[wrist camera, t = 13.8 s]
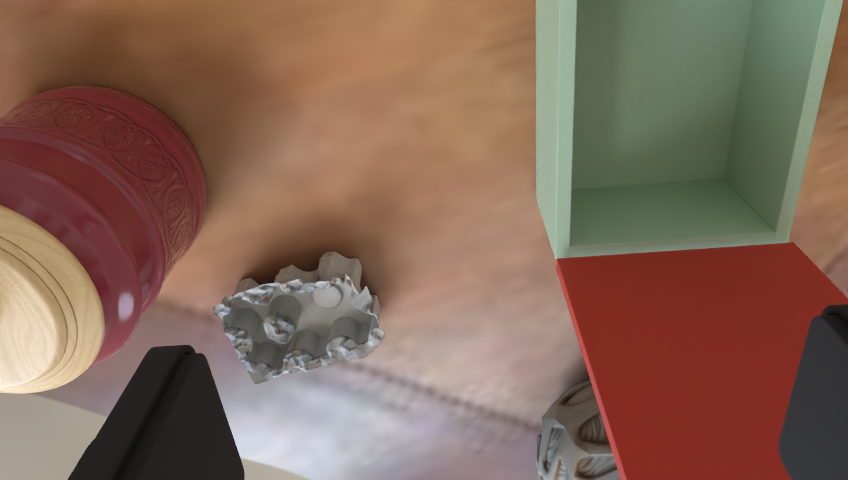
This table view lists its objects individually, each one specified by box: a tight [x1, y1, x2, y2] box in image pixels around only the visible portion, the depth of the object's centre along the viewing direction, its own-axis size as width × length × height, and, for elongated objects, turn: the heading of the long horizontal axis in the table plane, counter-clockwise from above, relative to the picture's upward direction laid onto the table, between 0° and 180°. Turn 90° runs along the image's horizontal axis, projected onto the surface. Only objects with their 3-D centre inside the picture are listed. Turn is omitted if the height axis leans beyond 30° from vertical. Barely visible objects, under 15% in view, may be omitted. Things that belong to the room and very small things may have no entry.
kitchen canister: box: [0, 85, 207, 393], centre depth 34 cm, size 13×13×18 cm
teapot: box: [535, 379, 621, 480], centre depth 44 cm, size 21×12×15 cm, turn 156°
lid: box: [557, 242, 848, 480], centre depth 28 cm, size 16×13×5 cm
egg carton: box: [213, 252, 384, 384], centre depth 45 cm, size 11×8×4 cm
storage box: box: [536, 0, 843, 259], centre depth 34 cm, size 16×13×8 cm
